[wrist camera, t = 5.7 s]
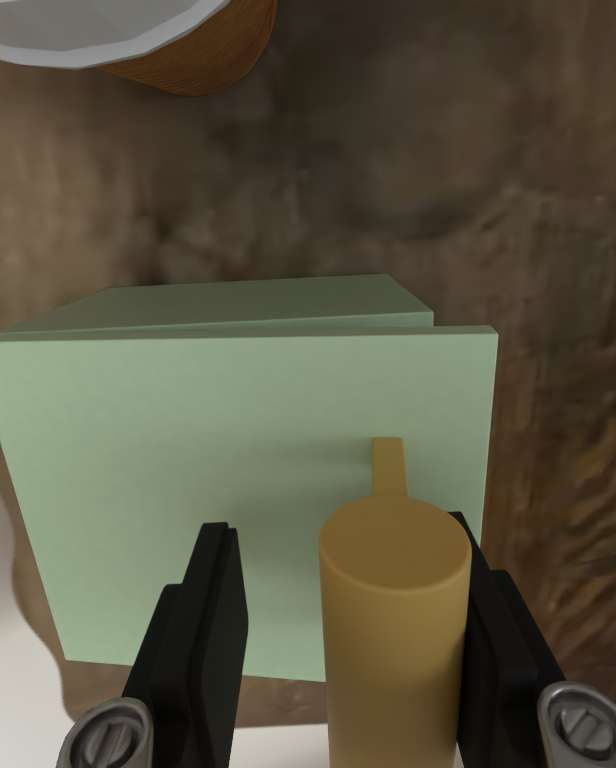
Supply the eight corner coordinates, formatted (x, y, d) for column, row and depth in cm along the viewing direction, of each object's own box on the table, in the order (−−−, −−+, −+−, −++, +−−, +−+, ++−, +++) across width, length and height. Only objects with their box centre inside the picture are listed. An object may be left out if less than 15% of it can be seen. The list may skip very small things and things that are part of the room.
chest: (387, 273, 20) (434, 311, 12) (385, 494, 23) (421, 624, 16) (107, 287, 20) (-9, 333, 13) (149, 504, 24) (78, 638, 16)
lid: (491, 324, 11) (605, 443, 5) (462, 670, 14) (514, 945, 9) (-8, 333, 13) (-293, 430, 7) (79, 639, 16) (-69, 855, 11)
